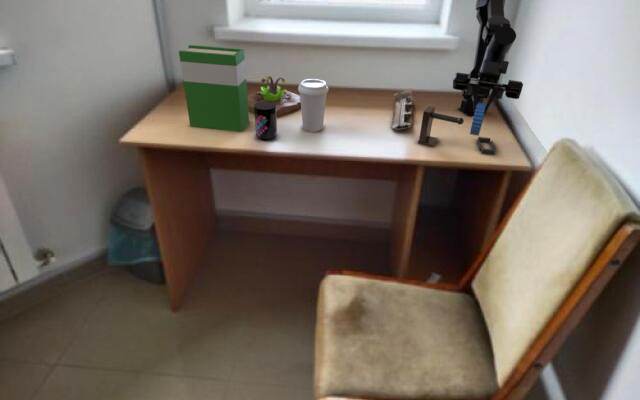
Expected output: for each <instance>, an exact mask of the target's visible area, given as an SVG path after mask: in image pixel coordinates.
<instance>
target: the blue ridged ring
mask: <svg viewBox="0 0 640 400" xmlns="http://www.w3.org/2000/svg"><path fill="white" fill-rule="evenodd" d="M486 105H487V102H483V103H481V102H478V104H477V106H476V110H475V113H474V115H473V116H472V117H473V118H472V122H471V127H470V131H469V135H471V136H476V137H480V132H481V129H482V125H483V122H484V117H485V114H484V111H485V107H486Z"/></svg>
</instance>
